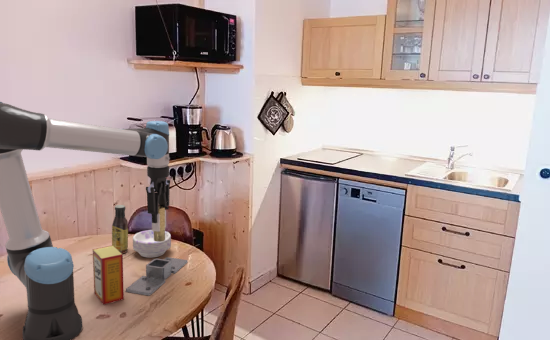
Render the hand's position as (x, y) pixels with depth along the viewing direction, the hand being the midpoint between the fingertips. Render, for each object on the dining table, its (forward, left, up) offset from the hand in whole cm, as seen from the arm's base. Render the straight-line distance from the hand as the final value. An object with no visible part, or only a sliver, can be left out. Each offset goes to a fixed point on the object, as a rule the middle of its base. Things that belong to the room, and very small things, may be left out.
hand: (159, 228), depth 158 cm
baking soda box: (-19, +8, -19) cm, 28 cm away
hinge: (0, 0, -18) cm, 18 cm away
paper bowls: (+18, +13, -19) cm, 29 cm away
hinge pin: (0, 0, -4) cm, 4 cm away
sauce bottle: (+15, +26, -19) cm, 35 cm away
